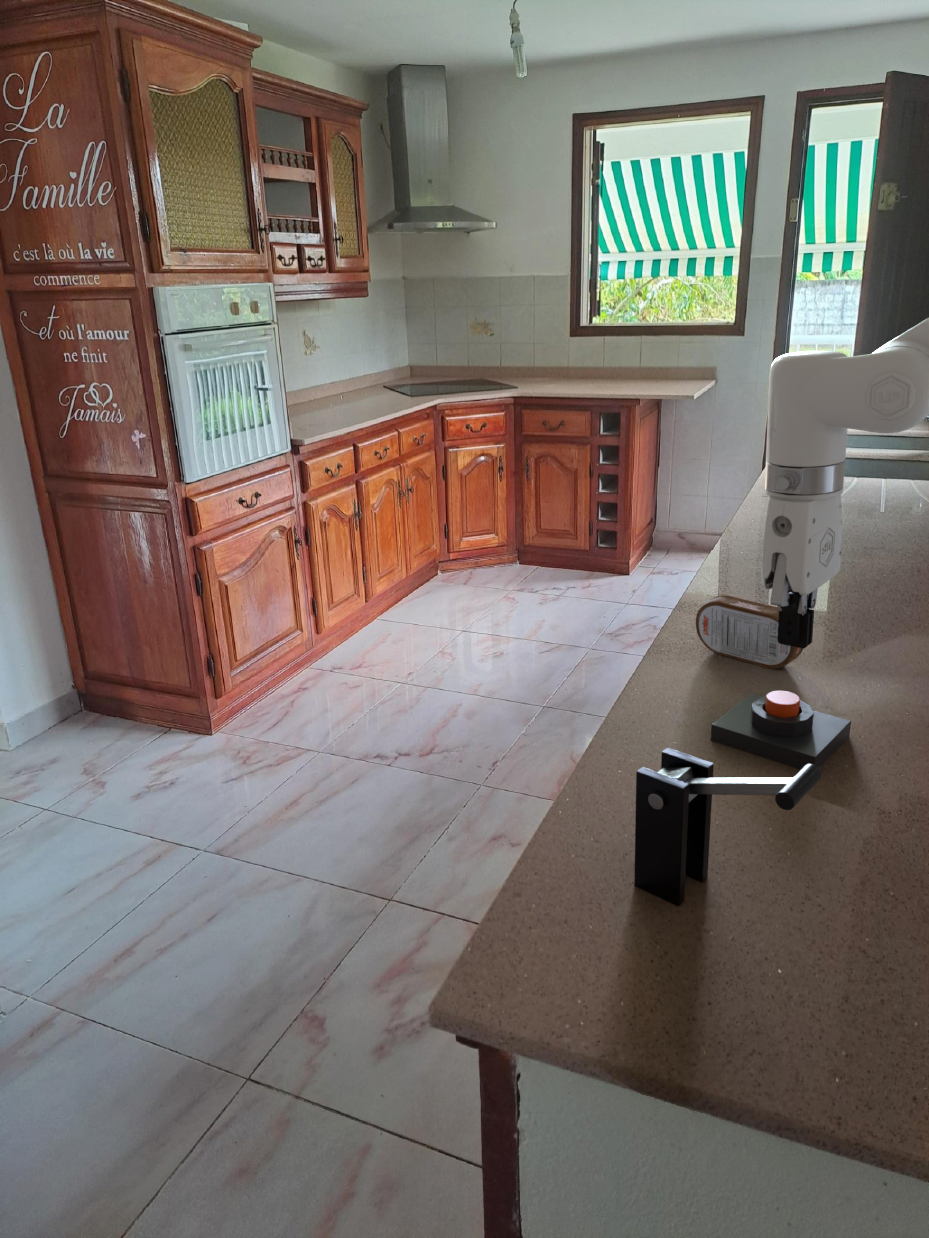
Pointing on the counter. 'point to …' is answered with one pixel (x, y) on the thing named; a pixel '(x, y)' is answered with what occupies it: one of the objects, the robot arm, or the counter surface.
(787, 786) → the lever
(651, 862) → the bracket
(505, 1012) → the counter surface
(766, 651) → the tin
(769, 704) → the button
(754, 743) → the control block
